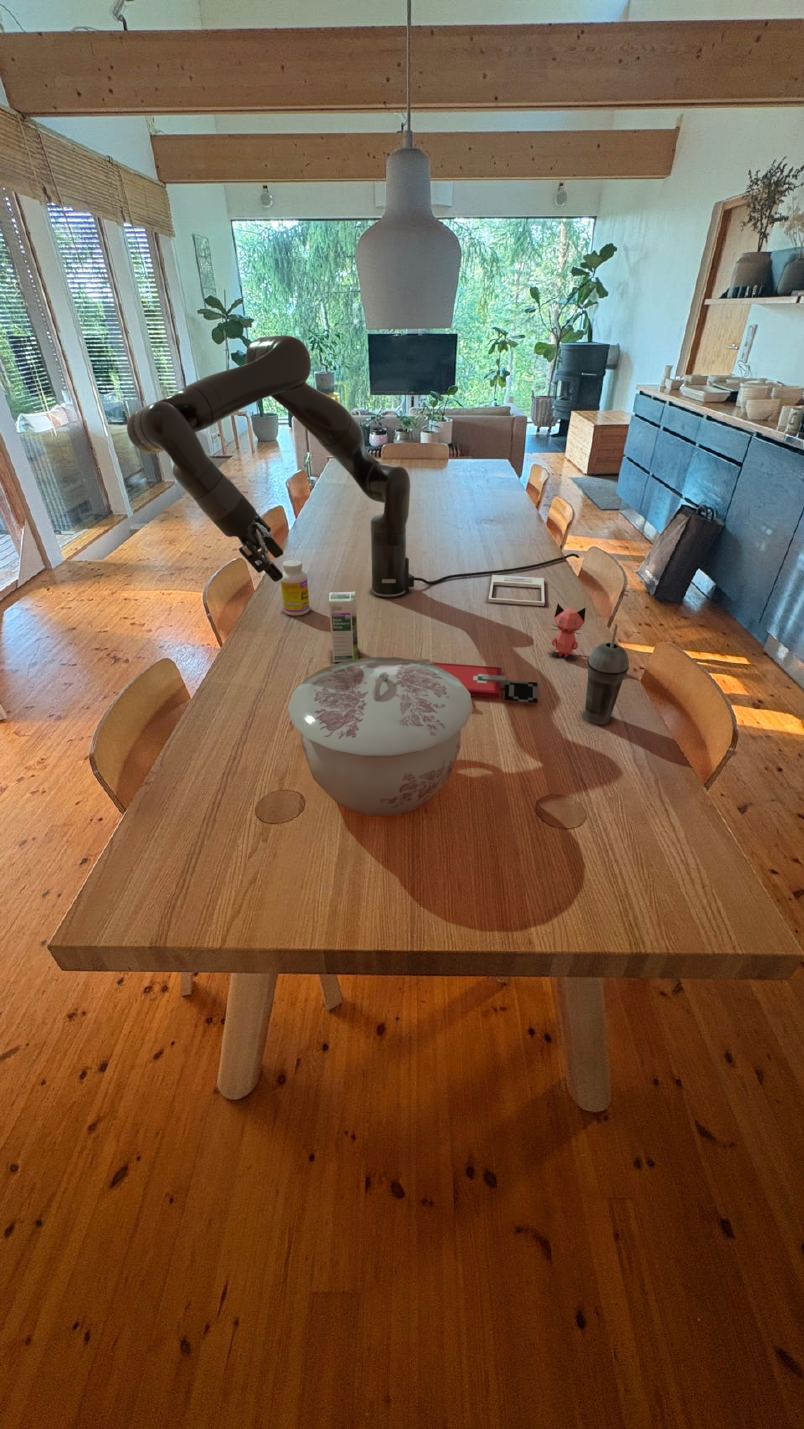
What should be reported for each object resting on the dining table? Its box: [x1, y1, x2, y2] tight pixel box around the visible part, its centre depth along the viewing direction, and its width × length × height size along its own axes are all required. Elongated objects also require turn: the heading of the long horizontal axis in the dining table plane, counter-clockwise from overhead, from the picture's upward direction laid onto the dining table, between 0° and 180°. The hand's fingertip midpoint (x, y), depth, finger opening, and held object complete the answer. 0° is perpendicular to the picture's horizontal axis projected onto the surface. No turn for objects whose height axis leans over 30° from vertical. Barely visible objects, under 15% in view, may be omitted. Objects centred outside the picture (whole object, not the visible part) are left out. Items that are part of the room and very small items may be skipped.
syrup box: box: [328, 590, 359, 663], centre depth 136 cm, size 6×6×14 cm
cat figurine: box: [551, 603, 587, 661], centre depth 137 cm, size 7×7×12 cm
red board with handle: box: [431, 661, 539, 704], centre depth 128 cm, size 30×3×15 cm
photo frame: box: [487, 574, 546, 607], centre depth 171 cm, size 15×1×18 cm
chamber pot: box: [287, 656, 474, 817], centre depth 96 cm, size 28×28×21 cm
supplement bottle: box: [279, 559, 310, 617], centre depth 157 cm, size 7×7×13 cm
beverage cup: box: [584, 623, 630, 725], centre depth 113 cm, size 7×7×20 cm
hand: (279, 566), depth 126 cm, fingers open, 8 cm apart
